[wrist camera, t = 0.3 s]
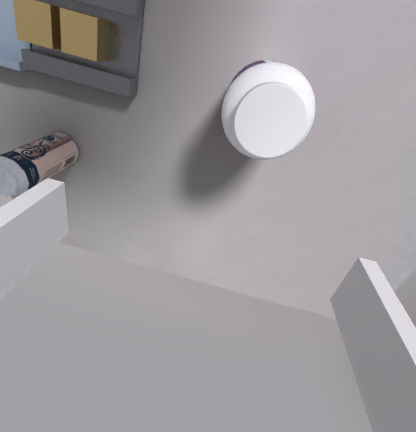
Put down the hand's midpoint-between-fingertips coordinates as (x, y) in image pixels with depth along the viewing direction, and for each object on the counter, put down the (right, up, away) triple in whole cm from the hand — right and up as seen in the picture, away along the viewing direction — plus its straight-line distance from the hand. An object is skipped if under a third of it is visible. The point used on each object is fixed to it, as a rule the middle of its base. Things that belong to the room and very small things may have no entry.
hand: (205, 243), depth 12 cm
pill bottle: (+7, +16, +21) cm, 27 cm away
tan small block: (-18, +23, +19) cm, 35 cm away
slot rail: (-14, +23, +20) cm, 33 cm away
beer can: (-21, +11, +28) cm, 36 cm away
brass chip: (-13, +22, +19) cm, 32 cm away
